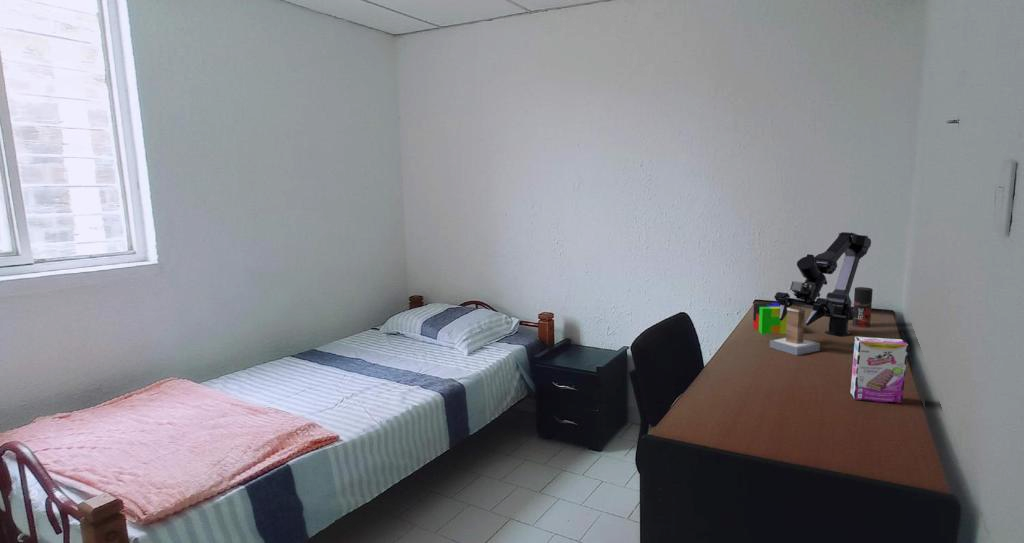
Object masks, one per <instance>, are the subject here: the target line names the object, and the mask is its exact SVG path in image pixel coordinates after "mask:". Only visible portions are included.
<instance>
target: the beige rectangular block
mask: <svg viewBox="0 0 1024 543" xmlns="http://www.w3.org/2000/svg"><path fill="white" fill-rule="evenodd" d="M805 314H806V307H802V306H795V305H792V306H791V307H788V308H787V325H786V334H785V337H786V342H791V343H795V344H798V343H801V342H803V339H804V336H805V335H804V333H805V316H806V315H805Z"/></svg>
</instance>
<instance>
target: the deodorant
mask: <svg viewBox="0 0 1024 543" xmlns="http://www.w3.org/2000/svg"><path fill="white" fill-rule="evenodd" d="M853 295H854V296H853V297H854V298H853V308H852V309H853V311H854V313H855V315H854V319H853V320H852V326H853V327H855V328H856V327H857V328H862V329H863V328H865V329H866V328H870V327H871V317H872V305H873V304H872V302H873V288H871V287H866V286H865V287H864V286H860V287H859V286H858V287H854V294H853Z"/></svg>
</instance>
